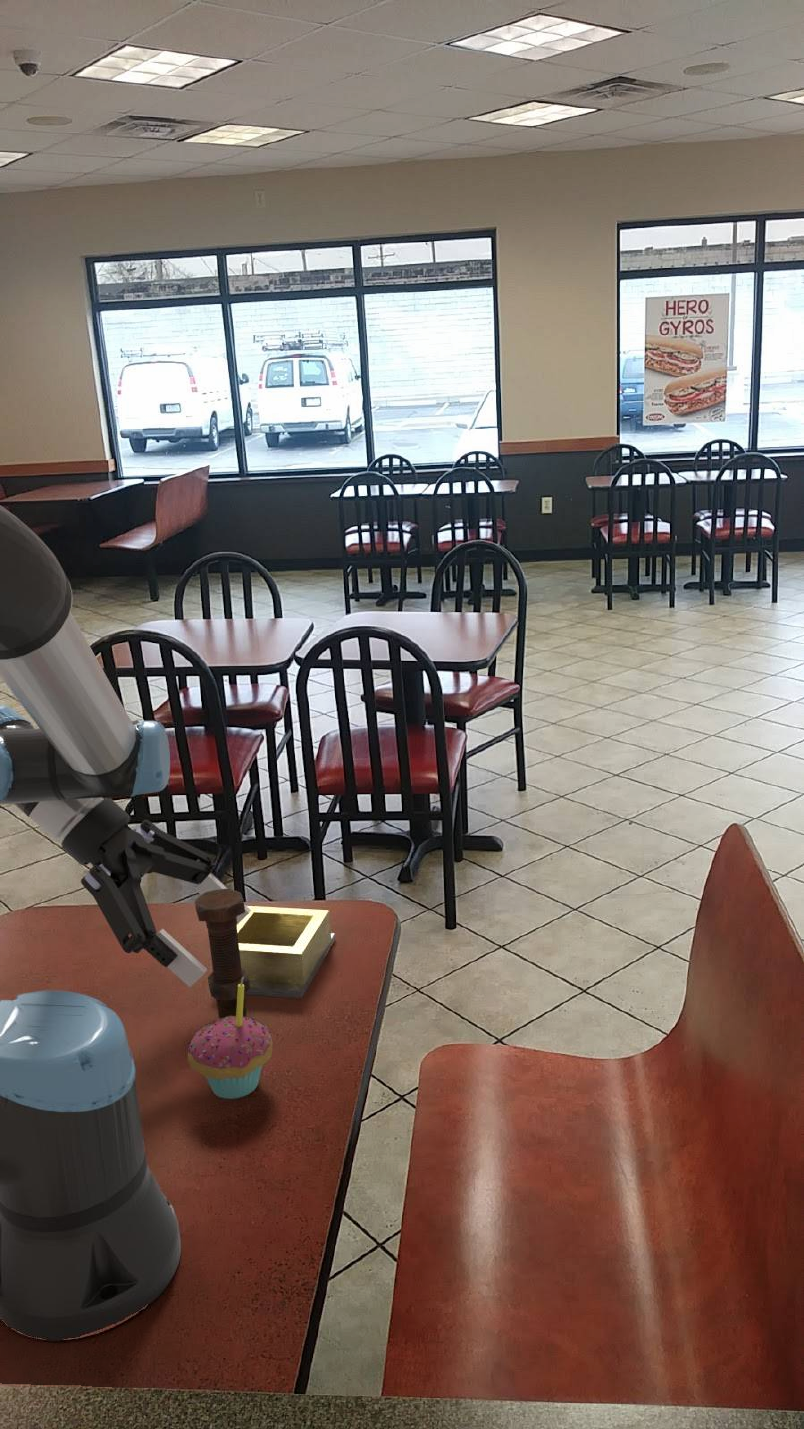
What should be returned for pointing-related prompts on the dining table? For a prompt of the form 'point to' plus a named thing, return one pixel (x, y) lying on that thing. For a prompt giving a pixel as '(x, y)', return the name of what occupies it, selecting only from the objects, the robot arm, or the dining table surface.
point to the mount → (283, 949)
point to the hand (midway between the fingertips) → (222, 947)
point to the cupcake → (231, 1052)
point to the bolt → (224, 947)
